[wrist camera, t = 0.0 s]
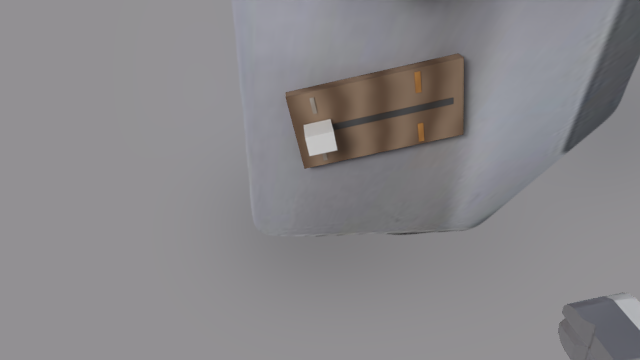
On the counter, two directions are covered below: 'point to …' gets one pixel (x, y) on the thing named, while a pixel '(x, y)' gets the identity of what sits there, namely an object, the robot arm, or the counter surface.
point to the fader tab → (320, 137)
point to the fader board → (383, 109)
